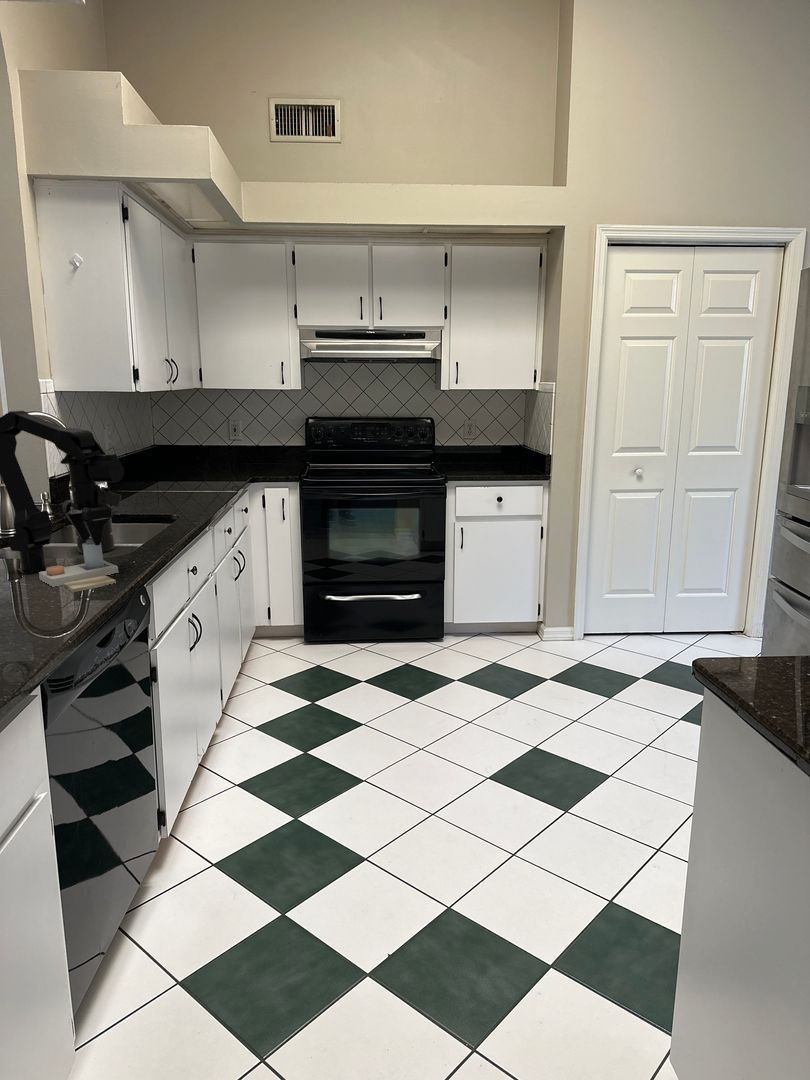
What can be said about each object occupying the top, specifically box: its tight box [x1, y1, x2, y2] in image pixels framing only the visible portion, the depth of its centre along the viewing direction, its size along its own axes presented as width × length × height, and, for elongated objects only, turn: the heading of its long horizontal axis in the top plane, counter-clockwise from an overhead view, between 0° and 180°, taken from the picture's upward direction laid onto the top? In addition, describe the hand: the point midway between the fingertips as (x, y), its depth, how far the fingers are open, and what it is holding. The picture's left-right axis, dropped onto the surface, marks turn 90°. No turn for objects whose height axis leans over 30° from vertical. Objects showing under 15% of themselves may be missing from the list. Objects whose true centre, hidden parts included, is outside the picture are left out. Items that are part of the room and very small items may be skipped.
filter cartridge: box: [82, 539, 104, 570], centre depth 192 cm, size 4×4×9 cm
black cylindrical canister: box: [68, 479, 115, 554], centre depth 216 cm, size 10×10×25 cm
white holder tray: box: [38, 559, 119, 588], centre depth 190 cm, size 10×16×2 cm, turn 132°
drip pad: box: [62, 575, 117, 593], centre depth 182 cm, size 7×10×1 cm
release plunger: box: [45, 565, 65, 576], centre depth 186 cm, size 4×4×3 cm
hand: (91, 542), depth 191 cm, fingers open, 9 cm apart
